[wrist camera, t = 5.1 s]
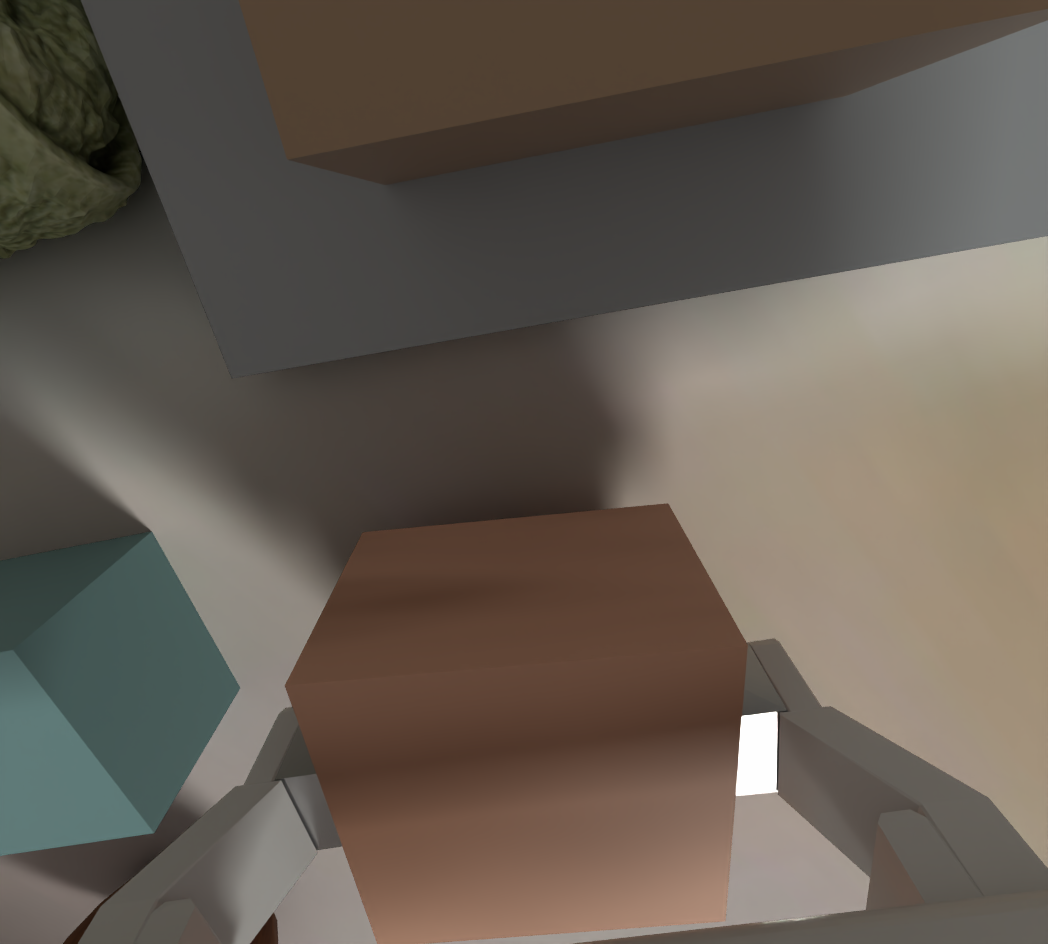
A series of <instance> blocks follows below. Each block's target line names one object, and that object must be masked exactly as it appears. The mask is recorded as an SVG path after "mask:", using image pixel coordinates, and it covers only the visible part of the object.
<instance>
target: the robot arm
mask: <svg viewBox="0 0 1048 944" xmlns="http://www.w3.org/2000/svg"><path fill="white" fill-rule="evenodd" d="M747 645H748V650H747V662H746V674H745V687H744V699H743V711H742V723H741V736H740V748H739V760H738V773H737V785H736V796H739V795H749V794H759V793H769V792H778V795H779V796H780V797H781V798H783V799H784V800H785V801H786V802H787V803H788V804H789V805H790V806H791V807H792V808H794V809H795V810H796V811H797V812H798V813H799V814H800V815H801V816H802V817H804V818H805V819H806V820H807V821H808V822H809V823H810V824H811V825H812V826H814V827H815V828H816V829H817V830H818V831H819V832H820V833H821V834H822V835H823V836H825V837H826V838H827V839H828V840H829V841H830V842H831V843H832V844H833V845H835V846H836V847H837V848H838V849H839V850H840V851H841V852H842V853H843V854H845V855H846V856H847V857H848V858H849V859H850V860H851V861H852V862H853V863H854V864H856V865H857V866H858V867H859V868H860V869H861V870H862V871H863V872H864V873H866V874H867V875H868V876H869V877H870V883H869V891H868V898H867V905H866V910H863V911H854V912H845V913H837V914H828V915H819V916H810V917H802V918H793V919H784V920H776V921H767V922H758V923H749V924H741V925H732V926H723V927H715V928H706V929H697V930H688V931H680V932H671V933H662V934H654V935H645V936H636V937H627V938H619V939H610V940H601V941H592V942H584V943H575V944H1048V868H1047V867H1046V866H1045V865H1044V863H1043V862H1042V861H1041V860H1040V859H1039V858H1038V856H1037V855H1036V854H1035V853H1034V852H1033V850H1032V849H1031V848H1030V847H1029V846H1028V844H1027V843H1026V842H1025V841H1024V840H1023V838H1022V837H1021V836H1020V835H1019V834H1018V832H1017V831H1016V830H1015V829H1014V828H1013V826H1012V825H1011V824H1010V823H1009V822H1008V820H1007V819H1006V818H1005V817H1004V816H1003V814H1002V813H1001V812H1000V811H999V810H998V808H997V807H996V806H995V805H994V804H993V802H992V801H991V800H990V799H989V798H988V797H986V796H985V795H983V794H981V793H980V792H978V791H976V790H974V789H973V788H971V787H969V786H967V785H966V784H964V783H962V782H961V781H959V780H957V779H955V778H954V777H952V776H950V775H949V774H947V773H945V772H943V771H942V770H940V769H938V768H936V767H935V766H933V765H931V764H930V763H928V762H926V761H924V760H923V759H921V758H919V757H917V756H916V755H914V754H912V753H911V752H909V751H907V750H905V749H904V748H902V747H900V746H899V745H897V744H895V743H893V742H892V741H890V740H888V739H886V738H885V737H883V736H881V735H880V734H878V733H876V732H874V731H873V730H871V729H869V728H868V727H866V726H864V725H862V724H861V723H859V722H857V721H855V720H854V719H852V718H850V717H849V716H847V715H845V714H843V713H842V712H840V711H838V710H836V709H835V708H833V707H831V706H829V707H822V706H821V705H820V703H819V702H818V700H817V699H816V697H815V696H814V694H813V693H812V691H811V690H810V688H809V686H808V685H807V683H806V682H805V680H804V679H803V677H802V676H801V674H800V673H799V671H798V670H797V668H796V667H795V665H794V664H793V662H792V660H791V659H790V657H789V656H788V654H787V653H786V651H785V650H784V648H783V647H782V645H781V644H780V642H779V641H777V640H776V639H767V640H761V641H755V642H748V643H747ZM341 846H342V844H341V841H340V838H339V835H338V832H337V830H336V827H335V824H334V821H333V818H332V816H331V813H330V810H329V807H328V805H327V802H326V799H325V796H324V793H323V791H322V788H321V785H320V782H319V779H318V777H317V774H316V771H315V768H314V765H313V763H312V760H311V757H310V754H309V752H308V749H307V746H306V743H305V740H304V738H303V735H302V732H301V729H300V726H299V724H298V721H297V718H296V715H295V712H294V710H293V707H288V708H285V709H284V710H283V711H282V712H280V713H279V715H278V717H277V719H276V721H275V723H274V725H273V727H272V729H271V731H270V733H269V735H268V737H267V739H266V741H265V743H264V745H263V747H262V749H261V751H260V753H259V755H258V757H257V759H256V761H255V763H254V765H253V767H252V769H251V771H250V773H249V775H248V777H247V779H246V781H245V783H244V785H242V786H235V787H234V788H233V789H232V790H231V791H230V792H229V793H228V794H227V795H225V796H224V797H223V798H222V799H221V800H220V801H219V802H218V803H216V804H215V805H214V806H213V807H212V808H211V809H210V810H209V811H207V812H206V813H205V814H204V815H203V816H202V817H201V818H200V819H198V820H197V821H196V822H195V823H194V824H193V825H192V826H191V827H189V828H188V829H187V830H186V831H185V832H184V833H183V834H182V835H180V836H179V837H178V838H177V839H176V840H175V841H174V842H173V843H171V844H170V845H169V846H168V847H167V848H166V849H165V850H164V851H162V852H161V853H160V854H159V855H158V856H157V857H156V858H155V859H153V860H152V861H151V862H150V863H149V864H148V865H147V866H146V867H145V868H143V869H142V870H141V871H140V872H139V873H138V874H137V875H136V876H134V877H133V878H132V879H131V880H130V881H129V882H128V883H127V884H125V885H124V886H123V887H122V888H121V889H120V890H119V891H118V892H116V893H115V894H114V895H113V896H112V897H111V898H110V899H109V900H107V901H106V902H105V903H104V904H103V905H102V906H101V907H100V908H99V910H98V912H97V913H96V915H95V916H94V918H93V920H92V921H91V923H90V924H89V926H88V928H87V929H86V931H85V933H84V934H83V936H82V937H81V939H80V941H79V942H78V944H250V943H251V942H252V940H253V939H254V938H255V936H256V935H257V934H258V932H259V931H260V930H261V928H262V927H263V926H264V924H265V923H266V922H267V920H268V919H269V918H270V916H271V915H272V914H273V912H274V911H275V910H276V908H277V907H278V906H279V904H280V903H281V902H282V900H283V899H284V897H285V896H286V895H287V893H288V892H289V891H290V889H291V888H292V887H293V885H294V884H295V883H296V881H297V880H298V879H299V877H300V876H301V875H302V873H303V872H304V871H305V869H306V868H307V867H308V865H309V864H310V863H311V861H312V860H313V859H314V857H315V856H316V855H317V850H322V849H328V848H334V847H341Z"/></svg>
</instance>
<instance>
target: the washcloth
mask: <svg viewBox="0 0 1048 944" xmlns="http://www.w3.org/2000/svg"><path fill="white" fill-rule="evenodd" d="M141 161H142V159H141V156H140V154H139V151H138V145H137V140H136V138H135V135H134V132H133V130H132V127H131V125H130V122H129V120H128V117H127V115H126V112H125V110H124V107H123V105H122V102H121V100H120V98H119V97H118V92H117V90H116V87H115V85H114V82H113V80H112V77H111V75H110V72H109V70H108V67H107V65H106V62H105V60H104V57H103V55H102V52H101V50H100V47H99V45H98V42H97V40H96V37H95V35H94V32H93V30H92V27H91V25H90V22H89V20H88V17H87V15H86V12H85V10H84V7H83V5H82V2H81V0H0V258H5V259H6V258H10V256H11V255H12V254H13V253H14V252H15V251H17V250H24V249H28V248H31V247H33V246H34V245H36V242H37V240H38V239H54V238H60V237H64V236H66V235H72V234H76V233H78V232H79V231H80V230H81V229H83V228H84V227H85V226H87V225H90V224H92V223H94V222H104V221H106V220H107V219H109V218H111V217H112V216H114V214H115V213H116V211H117V209H118V208H120V207H123V206H126V205H127V198H128V196H130V195H131V194H133V193H134V192H135V191H136V190H137V189H138V187H139V185H140V183H141Z"/></svg>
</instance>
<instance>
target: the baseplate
mask: <svg viewBox="0 0 1048 944" xmlns="http://www.w3.org/2000/svg"><path fill="white" fill-rule="evenodd" d="M81 2H82V5H83V7H84V10H85V12H86V15H87V17H88V20H89V22H90V25H91V27H92V30H93V32H94V35H95V37H96V40H97V42H98V45H99V47H100V50H101V52H102V55H103V57H104V60H105V62H106V65H107V67H108V70H109V72H110V75H111V77H112V80H113V82H114V85H115V87H116V90H117V92H118V95H119V97H120V100H121V102H122V105H123V107H124V110H125V112H126V115H127V117H128V120H129V122H130V125H131V127H132V130H133V132H134V135H135V137H136V140H137V142H138V145H139V147H140V150H141V152H142V155H143V157H144V160H145V162H146V165H147V167H148V170H149V172H150V175H151V177H152V180H153V182H154V185H155V188H156V190H157V193H158V195H159V198H160V200H161V203H162V205H163V208H164V210H165V213H166V215H167V218H168V220H169V223H170V225H171V228H172V230H173V233H174V235H175V238H176V240H177V243H178V245H179V248H180V250H181V253H182V255H183V258H184V260H185V263H186V265H187V268H188V270H189V273H190V275H191V278H192V280H193V283H194V285H195V288H196V290H197V293H198V295H199V298H200V300H201V303H202V305H203V308H204V310H205V313H206V315H207V318H208V320H209V323H210V325H211V328H212V330H213V333H214V335H215V338H216V340H217V343H218V345H219V348H220V350H221V353H222V355H223V358H224V360H225V363H226V365H227V368H228V370H229V373H230V375H231V378H237V377H243V376H249V375H254V374H260V373H266V372H272V371H277V370H283V369H289V368H294V367H300V366H306V365H312V364H317V363H323V362H329V361H335V360H340V359H346V358H352V357H357V356H363V355H369V354H375V353H380V352H386V351H392V350H398V349H403V348H409V347H415V346H420V345H426V344H432V343H438V342H443V341H449V340H455V339H460V338H466V337H472V336H478V335H483V334H489V333H495V332H501V331H506V330H512V329H518V328H523V327H529V326H535V325H541V324H546V323H552V322H558V321H564V320H569V319H575V318H581V317H586V316H592V315H598V314H604V313H609V312H615V311H621V310H627V309H632V308H638V307H644V306H649V305H655V304H661V303H667V302H672V301H678V300H684V299H690V298H695V297H701V296H707V295H712V294H718V293H724V292H730V291H735V290H741V289H747V288H752V287H758V286H764V285H770V284H775V283H781V282H787V281H793V280H798V279H804V278H810V277H815V276H821V275H827V274H833V273H838V272H844V271H850V270H856V269H861V268H867V267H873V266H878V265H884V264H890V263H896V262H901V261H907V260H913V259H919V258H924V257H930V256H936V255H941V254H947V253H953V252H959V251H964V250H970V249H976V248H981V247H987V246H993V245H999V244H1004V243H1010V242H1016V241H1022V240H1027V239H1033V238H1039V237H1044V236H1048V0H81Z"/></svg>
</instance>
